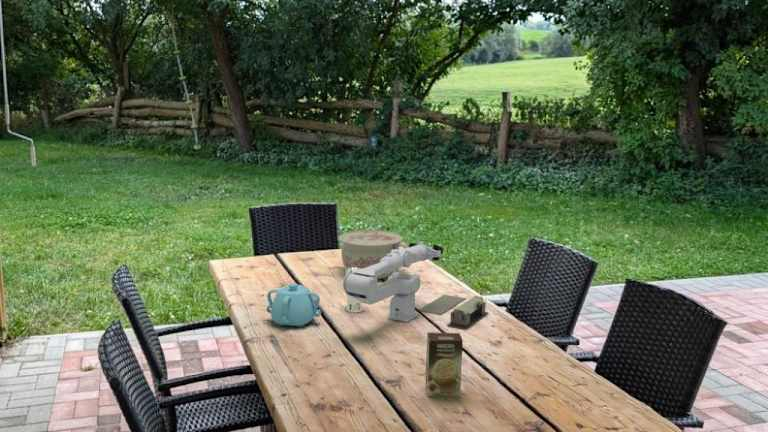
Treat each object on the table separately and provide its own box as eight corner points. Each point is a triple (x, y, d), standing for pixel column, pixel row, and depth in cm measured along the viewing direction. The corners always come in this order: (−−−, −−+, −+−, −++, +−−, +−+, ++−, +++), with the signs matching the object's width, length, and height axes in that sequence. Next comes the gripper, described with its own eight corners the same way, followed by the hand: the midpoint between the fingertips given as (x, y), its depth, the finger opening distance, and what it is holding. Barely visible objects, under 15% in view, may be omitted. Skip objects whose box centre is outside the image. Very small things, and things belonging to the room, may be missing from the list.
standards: (465, 330, 255) (466, 317, 255) (447, 326, 259) (447, 313, 258) (488, 313, 272) (488, 301, 272) (470, 310, 276) (470, 298, 275)
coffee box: (426, 397, 203) (428, 340, 200) (424, 387, 210) (426, 332, 206) (461, 397, 204) (462, 340, 200) (458, 387, 210) (459, 332, 207)
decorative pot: (324, 326, 258) (324, 287, 256) (279, 332, 251) (278, 293, 249) (307, 312, 273) (307, 275, 270) (264, 318, 266) (263, 280, 263)
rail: (462, 319, 257) (462, 311, 256) (453, 318, 258) (453, 309, 258) (482, 305, 272) (482, 297, 271) (474, 304, 273) (474, 296, 273)
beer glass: (365, 307, 279) (365, 267, 276) (362, 313, 272) (362, 272, 269) (346, 306, 279) (346, 267, 276) (343, 312, 272) (343, 272, 270)
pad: (441, 315, 271) (441, 314, 271) (418, 310, 275) (418, 309, 275) (465, 299, 290) (465, 298, 289) (444, 295, 294) (444, 294, 294)
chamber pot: (328, 271, 327) (328, 224, 323) (385, 265, 338) (386, 219, 334) (353, 288, 302) (353, 237, 298) (414, 281, 313) (415, 232, 309)
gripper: (432, 244, 265) (450, 239, 277) (396, 241, 273) (416, 237, 285) (432, 264, 266) (450, 258, 278) (397, 261, 274) (416, 255, 285)
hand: (433, 249), depth 281 cm, fingers open, 7 cm apart
